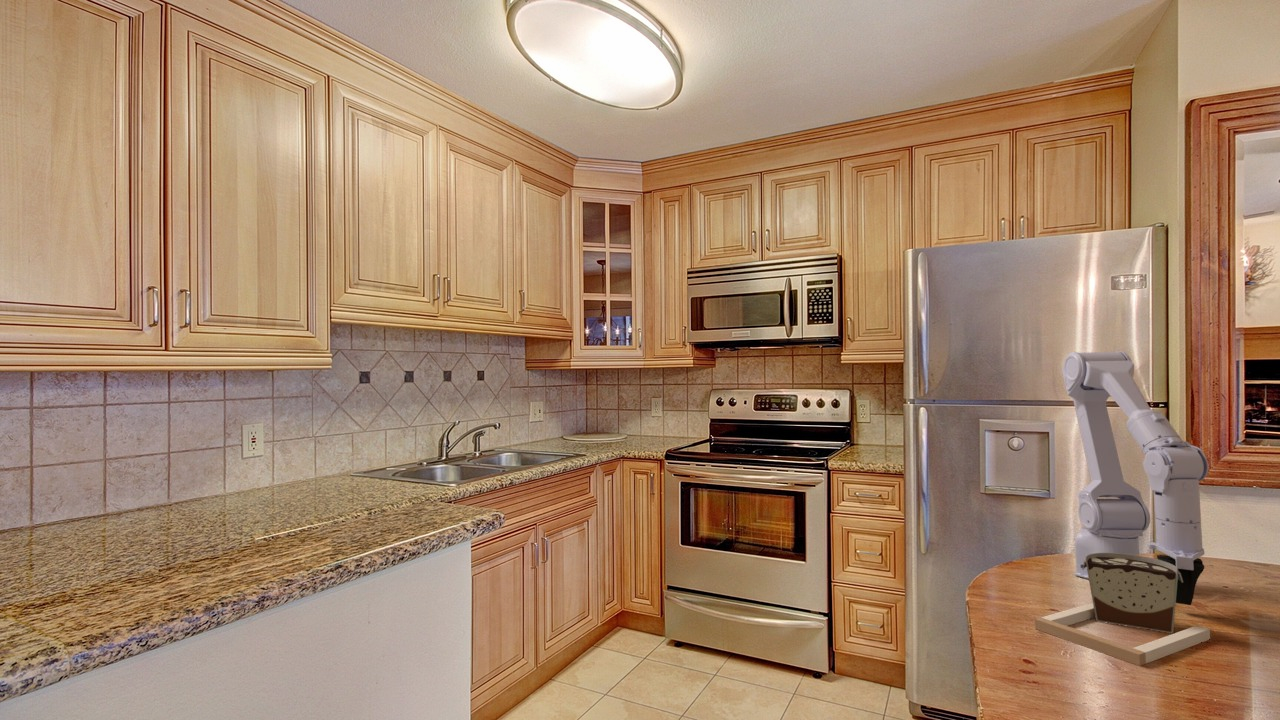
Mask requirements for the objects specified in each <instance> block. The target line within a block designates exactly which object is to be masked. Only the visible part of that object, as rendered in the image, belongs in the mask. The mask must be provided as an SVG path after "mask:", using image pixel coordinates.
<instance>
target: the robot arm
mask: <svg viewBox="0 0 1280 720" xmlns="http://www.w3.org/2000/svg"><path fill="white" fill-rule="evenodd" d="M1061 371H1062V376H1063V381H1064V386H1065V390H1066V394H1067V396H1069V397H1070V398H1072V399H1073V400H1072V401H1073V405H1074V410H1075V414H1076V419H1077V424H1078V428H1079V433H1080V438H1081V443H1082V446H1083V451H1084V452H1083V453H1084V456H1085V461H1086V466H1087V469H1088V474H1089V479H1090V483H1088V484H1087V485H1086V486H1085V487H1083V488H1082V489H1081V490H1080V491H1079V492H1078V493H1077V498H1078V508H1077V514H1078V519H1079V520H1080V521H1079V522H1080V523H1081V525H1082V526H1083V527H1084V528H1082V529H1080V530H1079V531H1078V532H1077V533H1076V537H1075V540H1074V541H1075V542H1074V543H1075V545H1074V546H1075V548H1074V550H1075V567H1076V568H1075V570H1076V572H1074V574H1073V575H1074V576H1076V577H1081V578H1084V579H1088V580H1089V577H1088V571H1087V567H1085V568H1084V570H1082V569H1083V563H1084V560H1085V559H1086V556H1087V555H1089V554H1093V553H1122V554H1131V555H1138V556H1140V538H1139V537H1143V536H1144V533H1143V532H1146V531H1147V529H1148V528H1149V526H1150V524H1151V514H1150V511H1149V509H1148V507H1147V506H1146V504H1145V502H1144V500H1143V497H1142V495H1141V491H1140V490H1139V489H1137V488H1135V487H1134V486H1132V485H1131V484H1130V483H1128V482H1126V481H1125V479H1124V474H1123V470H1122V466H1121V462H1120V458H1119V455H1118V449H1117V445H1116V441H1115V437H1114V433H1113V429H1112V424H1111V421H1110V417H1109V411H1108V408H1107V407H1108V406H1107V400H1109V398H1110V397H1111V399H1112V400H1114V402H1115V403H1116V405H1117V406H1118V407H1119V408H1120V409H1121V410H1122V411H1123V413H1124V414H1125V415H1126V416H1127V418H1128V420H1127V421H1126V423H1125V427H1126V429H1127V431H1128V432H1129V434H1130V436H1131V437H1132V438H1133V440H1134V441H1135V442H1136V445H1137V446H1138V447H1139V450H1141V452H1142V453H1143V455H1144V459H1143V460H1142V466H1143V470H1144V472H1145V474H1146V476H1147V479H1148V486H1149V487H1150V490H1151V491H1153V500H1154V501H1153V503H1154V504H1153V505H1154V522H1155V542H1153V541H1148V542H1147V548H1148V549H1152V550H1157V551H1159V552H1161V553H1162V554H1157V555H1156V559H1158V560H1161V561H1165V562H1168V563H1170V564H1172V565H1174V566H1176V567H1177V568H1178V571H1179V572H1180V573H1181V576H1182V580H1183V583H1182V582H1181V581H1180V580H1178V582H1177V594H1176V604H1179V605H1186V606H1191V605H1192V602H1193V601H1194V600H1193V599H1194V597H1195V596H1194V595H1195V589H1196V585H1197V582H1198V579H1199V577H1200V576H1201V574H1202V572H1203V571H1204V570H1205V565H1204V564H1203V562H1204V561H1203V560H1202V559H1201V557H1203V556H1204V555H1205V548H1203V535H1202V534H1203V532H1202V515H1201V498H1200V482H1201V481H1203V480H1204V479H1205V478H1207V475H1208V472H1209V463H1208V459H1207V457H1206V455H1205V453H1204V451H1203V450H1202V449H1201V448H1200V447H1198V446H1196V445H1192V444H1190V442H1189V441H1186V440H1183V439H1182V438H1181V437H1180V435H1179V433H1178V432H1177V431H1176V429H1175V428H1174V427H1173V426H1172V424H1171V423H1170V421H1169V419H1168V418H1167V417H1166V416H1165V415H1164V413H1162V412H1161V411H1159V410H1154V409H1153V410H1152V409H1151V407H1150V405H1149V404H1148V402H1147V400H1146V399H1145V396H1144V395H1143V393H1142V392H1141V390H1140V388H1139V386H1138V385H1137V383H1136V381H1135V379H1134V374H1135V364H1134V363H1133V361H1132V359H1131V357H1130V356H1129V354H1128V353H1127V352H1126V351H1122V350H1117V351H1110V352H1109V351H1101V352H1100V351H1098V352H1077V351H1072V352H1070V353H1069V354H1067V356H1066V358H1065V359H1064V361H1063V364H1062V367H1061Z"/></svg>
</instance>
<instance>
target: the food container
mask: <svg viewBox="0 0 1280 720" xmlns="http://www.w3.org/2000/svg"><path fill="white" fill-rule="evenodd" d="M1085 567H1087V571H1088V577H1089V579H1088V581H1089V582H1088V583H1089V586H1090V587H1089V588H1090V594H1091V600H1092V603H1093V606H1094V612H1095V617H1094V618H1095V622H1097V621H1099V622H1098V623H1103V622H1107V623H1106V624H1109V623H1113V624H1112V625H1115V624H1120V625H1119V626H1121V625H1127V626H1132V627H1131V628H1133V627H1139V628H1144V629H1143V630H1146V629H1152V630H1156V631H1155V632H1158V631H1161V632H1160V633H1164V632H1167V633H1166V634H1170V633H1173V634H1174V628H1175V616H1176V615H1175V614H1176V604H1177V603H1176V594H1177V582H1178V580H1180V581H1181V582H1182V583H1183V580H1182V576H1181V573H1180V572H1179V571H1178V568H1177V567H1176V566H1174V565H1172V564H1170V563H1168V562H1165V561H1161V560H1158V559H1157V558H1154V557H1148V556H1143V555H1139V556H1138V555H1131V554H1122V553H1093V554H1089V555H1087V556H1086V559H1085V560H1084V563H1083V569H1082V570H1084V568H1085ZM1127 626H1126V627H1127ZM1139 628H1138V629H1139ZM1152 630H1151V631H1152Z"/></svg>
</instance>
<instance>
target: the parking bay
mask: <svg viewBox="0 0 1280 720" xmlns="http://www.w3.org/2000/svg"><path fill="white" fill-rule="evenodd" d="M1090 618H1091V619H1094V618H1096V617H1095V612H1094V606H1093V602H1090V603H1087V604H1084V605H1083V604H1082V605H1080V606H1075V607H1073V608H1069V609H1066V610H1063V611H1058V612H1056V613H1052V614H1049V615H1045V616H1042V617H1041V616H1040V617H1038V618H1035V619H1034V622H1035V623H1034V628H1035V630H1038V631H1040V632H1043V633H1046V634H1049V635H1051V636H1054V637H1058V638H1060V639H1063V640H1066V641H1068V642H1071V643H1073V644H1077V645H1080V646H1083V647H1085V648H1088V649H1091V650H1094V651H1096V652H1100V653H1102V654H1105V655H1107V656H1111V657H1114V658H1117V659H1120V660H1122V661H1124V662H1125V661H1126V662H1128V663H1131V664H1133V665H1136V666H1140V667H1141V666H1143V665H1144V666H1145V664H1148V663H1151V662H1153V661H1156V660H1159V659H1162V658H1164V657H1167V656H1170V655H1173V654H1175V653H1178V652H1180V651H1183V650H1186V649H1188V648H1192V647H1193V646H1197V645H1199V644H1201V642H1202V643H1204V642H1207V641H1209V639H1210V640H1211V631H1210V630H1211V629H1210V628H1208V627H1204V626H1201V625H1194V626H1192V627H1188V628H1186V629H1183V630H1180V631H1177V632H1175V633H1174V632H1173V634H1169V635H1166V636H1163V637H1161V638H1157V639H1155V640H1152V641H1149V642H1146V643H1144V644H1141V645H1137V646H1135V647H1130V646H1127V645H1124V644H1121V643H1118V642H1115V641H1113V640H1109V639H1106V638H1103V637H1101V636H1098V635H1095V634H1092V633H1088V632H1085V631H1083V630H1079V629H1077V628H1074V627H1072V626H1071V625H1074V624H1077V623H1080V622H1081V623H1082V622H1084V621H1087V619H1088V620H1091V619H1090Z"/></svg>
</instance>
